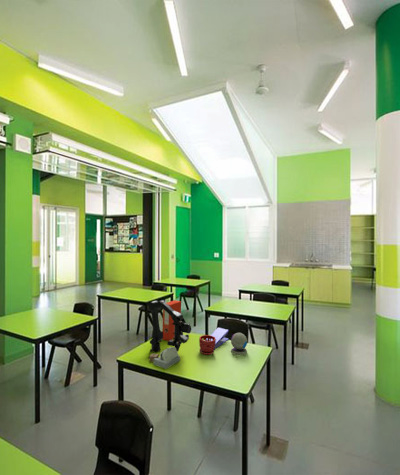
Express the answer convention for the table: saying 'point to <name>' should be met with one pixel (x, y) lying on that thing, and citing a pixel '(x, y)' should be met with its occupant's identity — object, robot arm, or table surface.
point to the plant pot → (207, 344)
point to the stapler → (219, 336)
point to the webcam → (239, 344)
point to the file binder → (170, 320)
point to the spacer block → (153, 357)
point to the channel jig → (166, 364)
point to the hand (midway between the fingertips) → (177, 351)
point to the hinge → (168, 354)
